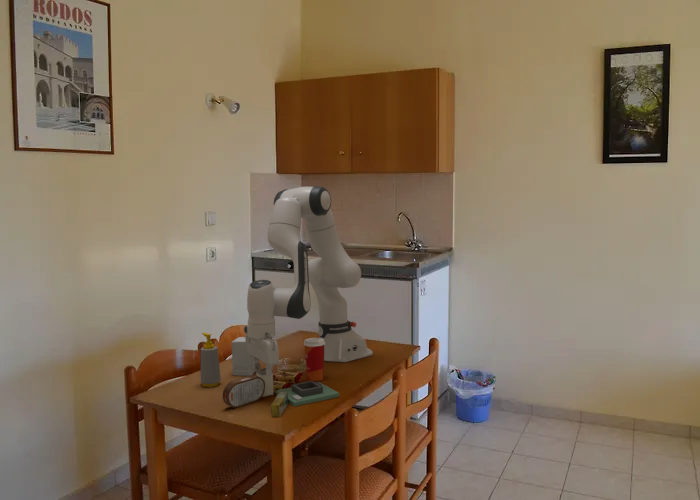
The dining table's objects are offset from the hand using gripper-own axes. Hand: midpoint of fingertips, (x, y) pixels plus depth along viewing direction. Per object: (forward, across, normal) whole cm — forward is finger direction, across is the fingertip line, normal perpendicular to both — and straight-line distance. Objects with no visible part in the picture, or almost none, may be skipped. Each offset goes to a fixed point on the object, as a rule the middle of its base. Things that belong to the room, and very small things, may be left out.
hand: (262, 372), depth 210 cm
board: (+7, -9, -12) cm, 16 cm away
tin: (+8, -5, +8) cm, 12 cm away
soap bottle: (+8, +20, +11) cm, 24 cm away
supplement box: (+8, +26, -4) cm, 27 cm away
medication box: (+8, -16, +1) cm, 18 cm away
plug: (+8, 0, -1) cm, 8 cm away
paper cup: (+7, +5, -22) cm, 23 cm away
